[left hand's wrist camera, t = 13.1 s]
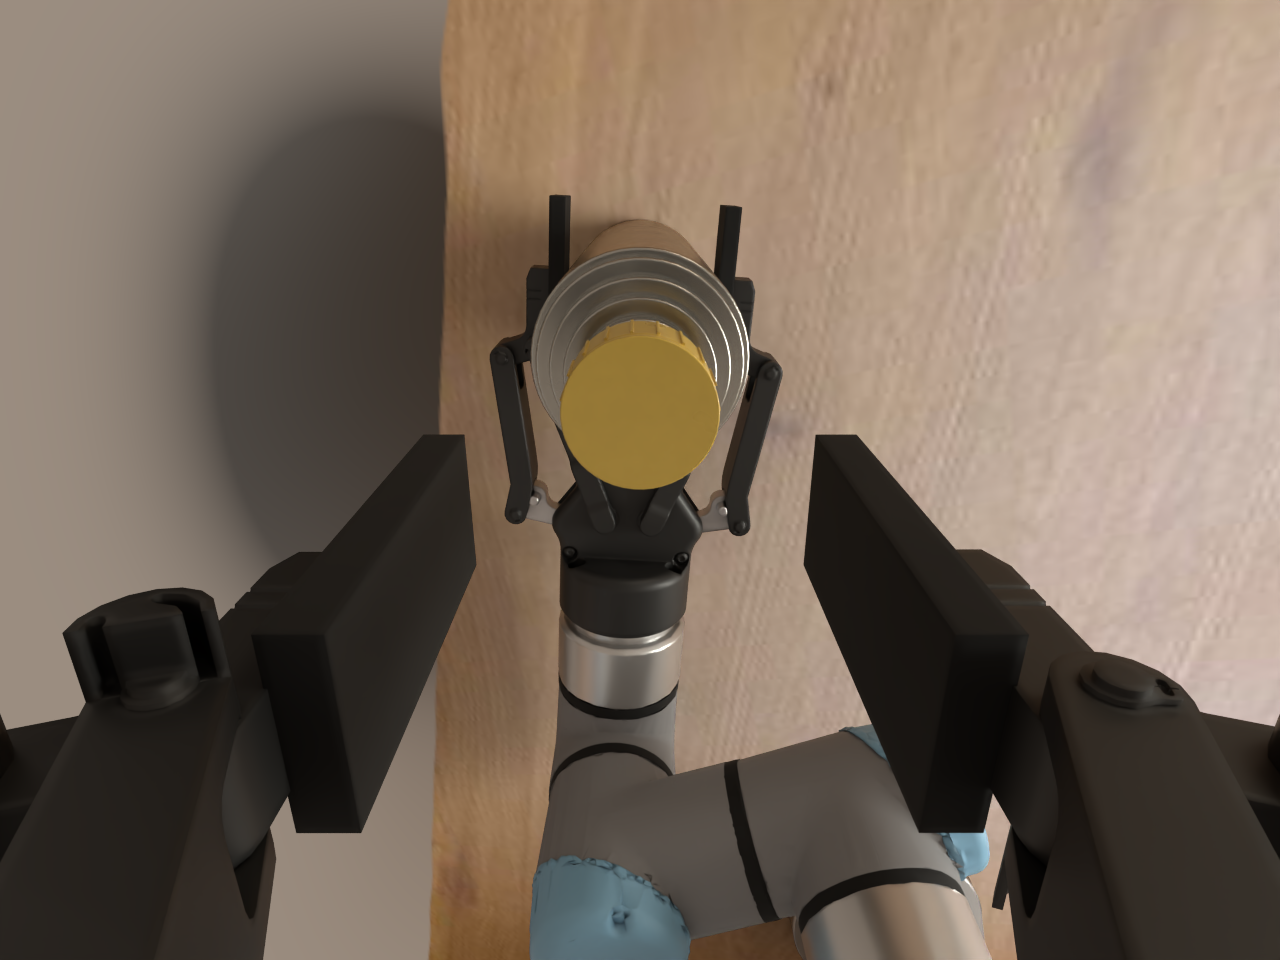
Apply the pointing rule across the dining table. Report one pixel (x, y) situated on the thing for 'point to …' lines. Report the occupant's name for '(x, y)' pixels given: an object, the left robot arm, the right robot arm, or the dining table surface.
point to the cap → (639, 405)
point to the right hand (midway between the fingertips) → (645, 201)
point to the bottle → (640, 308)
